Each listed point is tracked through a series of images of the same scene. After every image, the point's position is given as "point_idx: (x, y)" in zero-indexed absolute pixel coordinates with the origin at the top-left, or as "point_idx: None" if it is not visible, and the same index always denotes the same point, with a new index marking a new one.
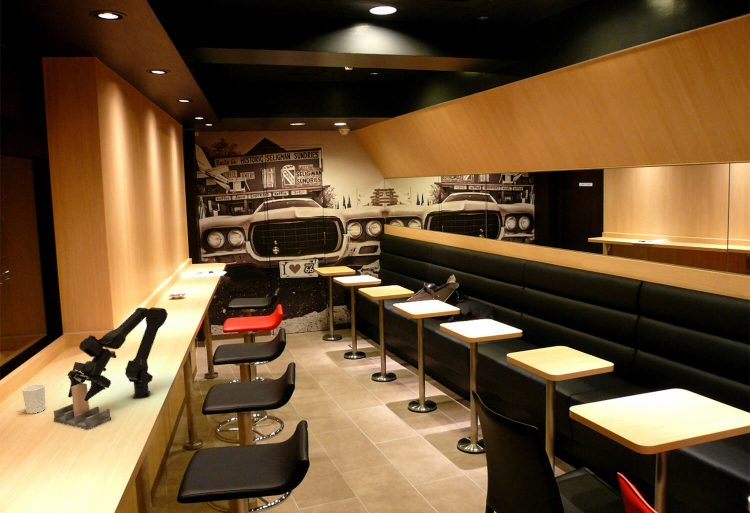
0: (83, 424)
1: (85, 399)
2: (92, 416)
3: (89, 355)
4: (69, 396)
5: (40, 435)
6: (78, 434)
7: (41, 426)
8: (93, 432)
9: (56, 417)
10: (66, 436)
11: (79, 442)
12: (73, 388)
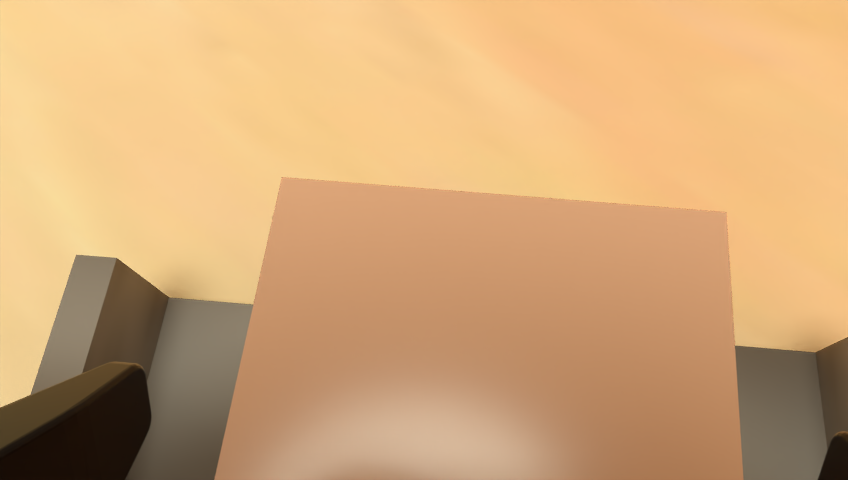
0: (242, 328)
1: (99, 377)
2: (45, 357)
3: None
4: (835, 456)
5: (575, 36)
6: (176, 177)
7: (826, 195)
8: (32, 269)
9: (826, 355)
10: (273, 103)
11: (32, 54)
12: (525, 228)
